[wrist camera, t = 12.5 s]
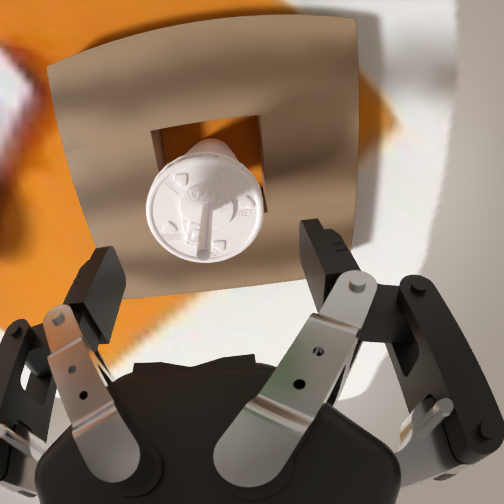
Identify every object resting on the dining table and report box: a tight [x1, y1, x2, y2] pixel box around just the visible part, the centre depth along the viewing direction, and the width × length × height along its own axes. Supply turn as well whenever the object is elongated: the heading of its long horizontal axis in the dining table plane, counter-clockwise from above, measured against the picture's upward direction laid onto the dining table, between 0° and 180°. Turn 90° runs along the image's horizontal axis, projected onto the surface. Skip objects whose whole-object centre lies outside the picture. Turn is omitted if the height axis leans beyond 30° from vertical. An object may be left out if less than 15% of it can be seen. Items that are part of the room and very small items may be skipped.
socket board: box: [47, 15, 359, 299], centre depth 22 cm, size 22×22×3 cm
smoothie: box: [146, 138, 264, 263], centre depth 18 cm, size 6×6×14 cm
